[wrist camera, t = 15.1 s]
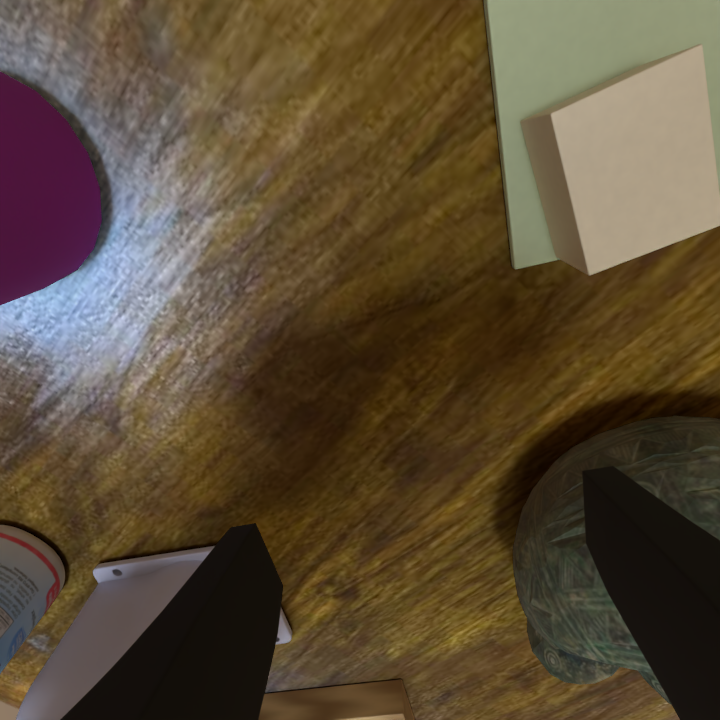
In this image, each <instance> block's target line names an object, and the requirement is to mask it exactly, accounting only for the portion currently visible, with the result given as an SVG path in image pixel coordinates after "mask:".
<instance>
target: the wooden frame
mask: <svg viewBox="0 0 720 720" xmlns="http://www.w3.org/2000/svg"><path fill="white" fill-rule="evenodd" d="M392 719H397V720H415V718H414V715H413V712H412V709H411V706H410V703H409V700H408V697H407V694H406V691H405V688H404V685H403V682H402V679H399V680H390V681H381V682H371V683H362V684H352V685H343V686H334V687H324V688H315V689H305V690H296V691H287V692H277V693H268V694H264V697H263V702H262V706H261V710H260V715H259V719H258V720H392Z"/></svg>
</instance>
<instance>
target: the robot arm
mask: <svg viewBox="0 0 720 720" xmlns="http://www.w3.org/2000/svg"><path fill="white" fill-rule="evenodd" d="M582 478H583V497H584V515H585V534H586V544H587V547H588V549H589V551H590V554H591V556H592V558H593V561H594V563H595V565H596V568H597V570H598V572H599V575H600V577H601V579H602V581H603V583H604V586H605V588H606V590H607V592H608V594H609V596H610V598H611V599H612V601H613V603H614V605H615V607H616V608H617V610H618V612H619V614H620V615H621V617H622V619H623V621H624V622H625V624H626V626H627V628H628V629H629V631H630V633H631V635H632V636H633V638H634V640H635V642H636V643H637V645H638V647H639V649H640V650H641V652H642V654H643V656H644V657H645V659H646V661H647V662H648V664H649V666H650V668H651V669H652V671H653V673H654V675H655V676H656V678H657V680H658V682H659V683H660V685H661V687H662V689H663V690H664V692H665V694H666V696H667V697H668V699H669V701H670V702H671V704H672V706H673V708H674V709H675V711H676V713H677V715H678V716H679V718H680V720H720V540H719V539H717V538H716V537H714V536H713V535H711V534H710V533H708V532H707V531H705V530H704V529H702V528H701V527H699V526H698V525H696V524H695V523H693V522H692V521H690V520H689V519H687V518H686V517H684V516H683V515H682V514H680V513H679V512H677V511H676V510H674V509H673V508H672V507H670V506H669V505H667V504H666V503H664V502H663V501H662V500H660V499H659V498H657V497H656V496H655V495H653V494H652V493H650V492H649V491H648V490H646V489H645V488H643V487H642V486H641V485H639V484H638V483H636V482H635V481H634V480H632V479H631V478H630V477H628V476H627V475H625V474H624V473H623V472H621V471H620V470H618V469H617V468H615V467H614V466H609V467H603V468H597V469H591V470H584V471H582ZM93 575H94V577H95V579H96V580H97V581H98V583H99V584H98V585H97V587H96V588H95V590H94V591H93V593H92V594H91V596H90V597H89V599H88V600H87V602H86V603H85V605H84V606H83V608H82V609H81V611H80V612H79V614H78V615H77V617H76V618H75V620H74V621H73V623H72V624H71V626H70V627H69V629H68V630H67V632H66V633H65V635H64V636H63V638H62V639H61V641H60V642H59V644H58V645H57V647H56V648H55V650H54V652H53V653H52V655H51V656H50V658H49V659H48V661H47V662H46V664H45V665H44V667H43V668H42V670H41V671H40V673H39V674H38V676H37V677H36V679H35V680H34V682H33V683H32V685H31V687H30V688H29V690H28V692H27V694H26V696H25V698H24V700H23V702H22V704H21V706H20V709H19V712H18V715H17V718H16V720H258V719H259V715H260V710H261V706H262V702H263V697H264V693H265V689H266V684H267V680H268V676H269V671H270V667H271V662H272V658H273V653H274V649H275V644H283V643H288V642H289V641H291V639H292V630H291V628H290V626H289V624H288V622H287V619H286V617H285V615H284V613H283V610H282V608H281V601H282V591H283V584H282V582H281V580H280V578H279V575H278V573H277V571H276V568H275V566H274V564H273V562H272V559H271V557H270V555H269V552H268V550H267V548H266V546H265V543H264V541H263V539H262V536H261V534H260V532H259V530H258V527H257V525H256V523H254V524H248V525H242V526H236V527H231V528H230V529H229V530H228V531H227V532H226V534H225V535H224V536H223V537H222V538H221V539H220V541H219V542H218V543H217V544H216V546H210V547H204V548H197V549H191V550H184V551H178V552H172V553H165V554H159V555H152V556H146V557H139V558H133V559H127V560H120V561H114V562H107V563H101V564H98V565H97V566H96V567H95V569H94V570H93Z"/></svg>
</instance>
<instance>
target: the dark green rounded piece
mask: <svg viewBox="0 0 720 720" xmlns="http://www.w3.org/2000/svg"><path fill="white" fill-rule="evenodd" d="M609 466H614V467H615V468H617V469H618V470H620V471H621V472H623V473H624V474H625V475H627V476H628V477H630V478H631V479H632V480H634V481H635V482H636V483H638V484H639V485H641V486H642V487H643V488H645V489H646V490H648V491H649V492H650V493H652V494H653V495H655V496H656V497H657V498H659V499H660V500H662V501H663V502H664V503H666V504H667V505H669V506H670V507H672V508H673V509H674V510H676V511H677V512H679V513H680V514H682V515H683V516H684V517H686V518H687V519H689V520H690V521H692V522H693V523H695V524H696V525H698V526H699V527H701V528H702V529H704V530H705V531H707V532H708V533H710V534H711V535H713V536H714V537H716V538H717V539H719V540H720V419H717V418H710V417H684V416H675V415H674V416H672V417H657V418H651V419H646V420H641V421H636V422H633V423H630V424H627V425H624V426H621V427H618V428H615V429H612V430H608V431H606V432H603V433H600V434H597V435H595V436H593V437H591V438H589V439H587V440H586V441H584V442H582V443H580V444H578V445H576V446H574V447H572V448H571V449H569V450H568V451H567V452H566V453H564V454H563V455H561V456H560V457H559V458H558V459H557V460H556V461H555V462H554V463H553V464H552V466H551V467H550V468H549V469H548V471H547V472H546V473H545V474H544V475H543V477H542V478H541V479H540V480H539V482H538V483H537V484H536V486H535V487H534V488H533V489H532V491H531V493H530V495H529V497H528V500H527V502H526V504H525V505H524V506H523V508H522V512H521V516H520V520H519V524H518V528H517V532H516V537H515V541H514V546H513V570H514V577H515V582H516V588H517V594H518V597H519V600H520V602H521V605H522V608H523V611H524V613H525V615H526V616H527V633H528V636H529V640H530V644H531V648H532V651H533V653H534V654H535V655H536V656H537V658H538V659H539V660H540V662H541V663H542V664H543V665H544V667H545V668H546V669H547V671H548V672H549V673H550V674H551V675H553V676H555V677H556V678H558V679H560V680H562V681H564V682H568V683H575V684H591V683H597V682H599V681H601V680H603V679H606V678H608V677H610V676H612V675H613V674H614V673H615V672H616V671H617V669H618V668H619V667H624V668H629V669H633V670H638V671H639V673H640V674H641V675H642V676H643V678H644V679H645V680H646V682H648V683H649V684H650V685H651V686H652V687H653V688H654V689H655V690H656V691H657V692H658V693H659V694H660V695H661V696H662V697H663V698H664V699H665V700H666V701H667V702H668V703H670V704H671V702H670V701H669V699H668V697H667V696H666V694H665V692H664V690H663V689H662V687H661V685H660V683H659V682H658V680H657V678H656V676H655V675H654V673H653V671H652V669H651V668H650V666H649V664H648V662H647V661H646V659H645V657H644V656H643V654H642V652H641V650H640V649H639V647H638V645H637V643H636V642H635V640H634V638H633V636H632V635H631V633H630V631H629V629H628V628H627V626H626V624H625V622H624V621H623V619H622V617H621V615H620V614H619V612H618V610H617V608H616V607H615V605H614V603H613V601H612V599H611V598H610V596H609V594H608V592H607V590H606V588H605V586H604V583H603V581H602V579H601V577H600V575H599V572H598V570H597V568H596V565H595V563H594V561H593V558H592V556H591V554H590V551H589V549H588V547H587V544H586V534H585V515H584V497H583V478H582V471H584V470H591V469H597V468H603V467H609ZM671 705H672V704H671Z"/></svg>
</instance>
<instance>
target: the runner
mask: <svg viewBox="0 0 720 720" xmlns="http://www.w3.org/2000/svg"><path fill="white" fill-rule="evenodd" d="M483 2H484V11H485V20H486V30H487V39H488V48H489V58H490V67H491V76H492V86H493V95H494V104H495V114H496V123H497V132H498V142H499V151H500V160H501V170H502V179H503V188H504V198H505V207H506V217H507V226H508V235H509V245H510V254H511V263H512V267H513V268H514V269H520V268H524V267H529V266H533V265H538V264H542V263H547V262H551V261H556V260H560V259H559V258H557V257H556V256H555V252H554V248H553V244H552V241H551V237H550V233H549V229H548V225H547V222H546V218H545V214H544V210H543V206H542V203H541V199H540V195H539V191H538V188H537V184H536V180H535V176H534V172H533V169H532V165H531V161H530V157H529V154H528V150H527V146H526V142H525V138H524V135H523V131H522V127H521V123H520V122H521V121H522V120H524V119H526V118H528V117H530V116H533V115H535V114H537V113H539V112H541V111H543V110H545V109H548V108H550V107H552V106H554V105H556V104H558V103H561V102H563V101H565V100H567V99H569V98H571V97H573V96H576V95H578V94H580V93H582V92H584V91H586V90H589V89H591V88H593V87H595V86H597V85H599V84H601V83H604V82H606V81H608V80H610V79H612V78H614V77H617V76H619V75H621V74H623V73H625V72H627V71H629V70H632V69H634V68H636V67H638V66H640V65H643V64H645V63H648V62H651V61H654V60H657V59H660V58H662V57H665V56H668V55H671V54H674V53H676V52H679V51H682V50H685V49H688V48H690V47H693V46H696V45H699V44H702V45H703V54H704V62H705V71H706V80H707V89H708V97H709V106H710V115H711V123H712V132H713V141H714V149H715V158H716V167H717V175H718V184H719V193H720V0H483Z"/></svg>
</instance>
